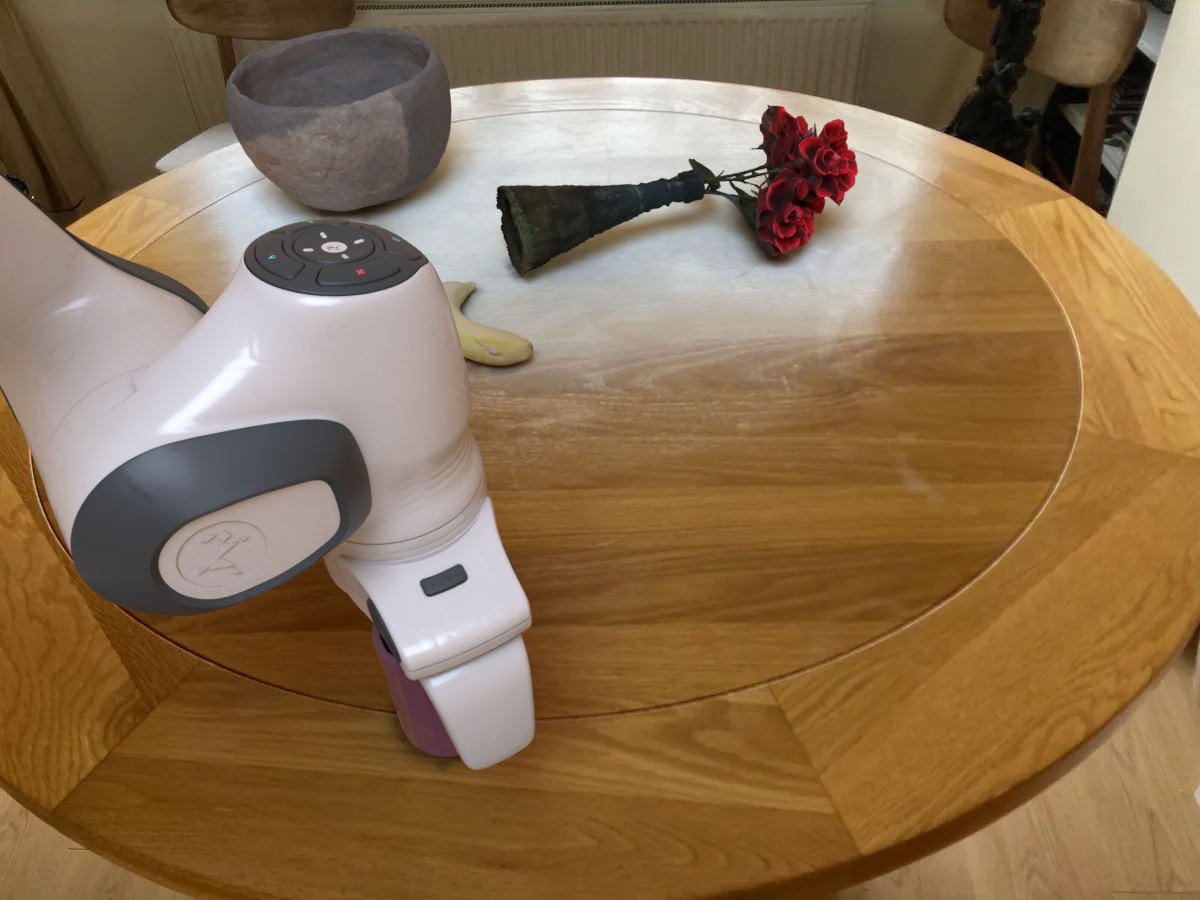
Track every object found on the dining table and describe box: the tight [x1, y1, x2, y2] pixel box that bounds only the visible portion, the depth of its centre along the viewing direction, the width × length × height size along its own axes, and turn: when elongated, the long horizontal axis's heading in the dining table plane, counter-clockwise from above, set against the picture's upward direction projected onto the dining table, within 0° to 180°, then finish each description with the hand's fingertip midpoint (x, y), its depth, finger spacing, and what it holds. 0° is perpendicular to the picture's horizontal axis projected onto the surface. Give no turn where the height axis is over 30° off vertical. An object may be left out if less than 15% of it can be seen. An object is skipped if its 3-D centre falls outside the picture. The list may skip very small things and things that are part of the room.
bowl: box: [224, 26, 453, 212], centre depth 109 cm, size 24×24×15 cm
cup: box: [371, 622, 460, 758], centre depth 58 cm, size 7×7×9 cm
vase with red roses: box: [495, 104, 859, 276], centre depth 97 cm, size 16×18×35 cm
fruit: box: [442, 280, 534, 366], centre depth 90 cm, size 7×15×3 cm, turn 28°
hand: (445, 675), depth 58 cm, fingers closed on cup, 7 cm apart
